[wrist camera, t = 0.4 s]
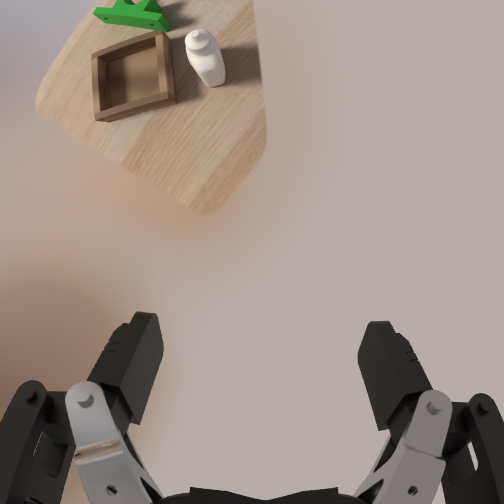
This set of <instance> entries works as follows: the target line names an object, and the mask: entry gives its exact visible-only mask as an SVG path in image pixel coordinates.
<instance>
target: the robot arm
mask: <svg viewBox="0 0 504 504" xmlns="http://www.w3.org/2000/svg"><path fill="white" fill-rule="evenodd" d="M163 351H164V347H163V339H162V335H161V330H160V326H159V321H158V317H157V315H156V314H155V313H145V312H136V313H135V314H134V316H133V318H132V320H131V322H130V323H129V324H127V323H123V324H122V325H121V326H120V327H118V328H117V329H116V330H115V331H114V332H113V334H112V336H111V337H110V339H109V343H107V344H106V346H105V348H104V351H102V353H101V355H100V357H99V359H98V360H97V363H96V364H95V366H94V368H93V370H92V371H91V374H90V375H89V377H88V379H87V381H83V382H79V383H76V384H75V385H73V386H72V387H71V388H70V389H69V390H68V391H67V392H57V391H47V390H46V388H45V387H44V386H43V384H42V383H40V382H38V381H34V380H31V381H27V382H25V383H23V384H22V385H21V386H20V387H19V388H18V389H17V391H16V393H15V395H14V397H13V399H12V401H11V402H10V404H9V406H8V408H7V410H6V412H5V414H4V416H3V419H2V420H1V422H0V504H60V502H61V497H62V493H63V490H64V485H65V482H66V479H67V475H68V472H69V468H70V465H71V461H72V458H73V455H74V452H75V449H76V446H77V450H78V454H76V455H75V456H74V461H75V465H76V468H77V471H78V474H79V477H80V480H81V482H82V485H83V488H84V491H85V493H86V496H87V498H88V500H89V503H90V504H432V502H433V499H434V497H435V494H436V492H437V489H438V486H439V484H440V481H441V483H442V487H443V492H444V497H445V502H446V504H504V422H503V419H502V417H501V415H500V413H499V410H498V408H497V406H496V404H495V402H494V400H493V399H492V398H491V397H490V396H488V395H486V394H483V393H479V394H475V395H474V396H473V397H472V398H471V399H470V401H469V402H468V403H465V402H464V403H463V402H451V401H450V399H449V398H448V397H447V396H446V395H445V394H444V393H442V392H440V391H437V390H433V388H432V386H431V384H430V382H429V380H428V378H427V376H426V374H425V373H424V370H423V368H422V366H421V364H420V362H419V361H418V358H417V356H416V355H415V353H414V351H413V349H412V347H411V345H410V343H409V341H408V340H407V339H406V338H404V337H403V336H402V335H401V334H400V333H395V331H394V329H393V327H392V325H391V324H390V322H389V321H372V322H370V323H369V324H368V326H367V328H366V331H365V334H364V337H363V340H362V342H361V345H360V348H359V351H358V365H359V368H360V371H361V374H362V377H363V380H364V383H365V387H366V390H367V393H368V396H369V400H370V403H371V406H372V409H373V413H374V416H375V420H376V423H377V427H378V431H381V430H386V429H389V431H390V435H389V436H388V438H387V440H386V442H385V445H384V447H383V449H382V451H381V452H380V454H379V456H378V459H377V460H376V462H375V464H374V466H373V468H372V470H371V471H370V473H369V475H368V476H367V478H366V479H365V480H364V482H363V483H362V484H361V485H360V486H359V488H358V489H357V490H356V492H355V493H354V495H353V496H350V495H345V494H338V487H336V488H328V489H320V490H310V491H302V492H298V493H295V494H291V495H287V496H283V497H279V498H275V499H271V500H260V499H255V498H251V497H247V496H243V495H239V494H235V493H232V492H228V491H220V490H210V489H202V488H195V487H190V492H189V493H182V494H176V495H172V496H168V497H166V498H164V496H163V495H162V493H161V492H160V490H159V488H158V487H157V485H156V484H155V482H154V481H153V479H152V478H151V476H150V475H149V473H148V472H147V470H146V468H145V466H144V465H143V462H142V460H141V458H140V456H139V454H138V452H137V450H136V449H135V446H134V444H133V442H132V440H131V438H130V435H129V433H128V431H127V430H128V427H129V424H130V423H134V424H138V425H140V423H141V419H142V416H143V413H144V410H145V407H146V404H147V401H148V398H149V395H150V392H151V389H152V386H153V383H154V380H155V377H156V374H157V372H158V369H159V366H160V363H161V360H162V357H163ZM41 433H42V435H41ZM40 435H41V438H40ZM39 438H40V440H39ZM38 440H39V443H38ZM470 442H472V445H473V448H474V451H475V454H476V457H477V460H478V468H477V470H476V471H475V468H474V465H473V462H472V458H471V455H470V452H469V448H468V446H467V445H468V444H469V443H470ZM37 443H38V445H37ZM36 445H37V448H36ZM35 448H36V451H35ZM34 451H35V453H34ZM33 454H34V456H33Z"/></svg>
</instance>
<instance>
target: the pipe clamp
mask: <svg viewBox="0 0 504 504" xmlns="http://www.w3.org/2000/svg"><path fill="white" fill-rule="evenodd" d="M160 10H161V8H160V7H159V5H158V4H157V2H156V1H155V0H143V1H142V2H140V3H138V4H134V3H133V2H132V0H117V1H116V3H115V5H114V6H113V8H100V7H97V8H96V9H95V11H94V12H93V14H94V15H95V16H97V17H98V18H99V19H101V20H102V21H103V22H105V23H108V24H118V25H126V26H133V27H140V28H146V29H152V30H160V29H162V30H163V31H164V32H167V31H168V30H169V28H170V25H169V23H168V22H167V20H166V19H165V17H164V16H163V14H160V13H159V12H160Z"/></svg>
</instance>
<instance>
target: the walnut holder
mask: <svg viewBox="0 0 504 504" xmlns="http://www.w3.org/2000/svg"><path fill="white" fill-rule="evenodd" d="M92 87H93V102H94V114H95V121H103V122H112V121H115V120H118V119H121V118H124V117H127V116H131V115H134V114H137V113H141V112H145V111H148V110H152V109H156V108H160V107H164V106H168V105H172V104H176V103H177V101H176V93H175V84H174V75H173V65H172V55H171V44H170V39H169V37H168V36H167V35H166V33H165V32H164V31H163V30H162V29H160V30H156V31H153V32H149V33H146V34H143V35H140V36H137V37H134V38H131V39H128V40H125V41H123V42H120V43H117V44H115V45H112V46H109V47H107V48H105V49H102V50H100V51H97V52H95V53H93V54H92Z"/></svg>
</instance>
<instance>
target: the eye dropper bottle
mask: <svg viewBox="0 0 504 504" xmlns="http://www.w3.org/2000/svg"><path fill="white" fill-rule="evenodd" d="M185 44H186V53H187V57H188V59H189V61H190V63H191V65H192V66H193V68H194V69H195V71H196V72H197V74H198V75H199V77H200V78H201V80H202V81H203V82H204V84H205V85H206V86H207V87H214V86H218V85H221V84H223V83H224V81H225V75H226V72H225V65H224V62H223V58H222V55H221V51H220V48H219V45H218V43H217V40H216V39H215V37H214V36H213V35H212V34H211V33H210V32H209V31H208V30H206V29H198V30H193V31H192V32H190V33H189V34H188V35H187V36H186V38H185Z"/></svg>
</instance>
